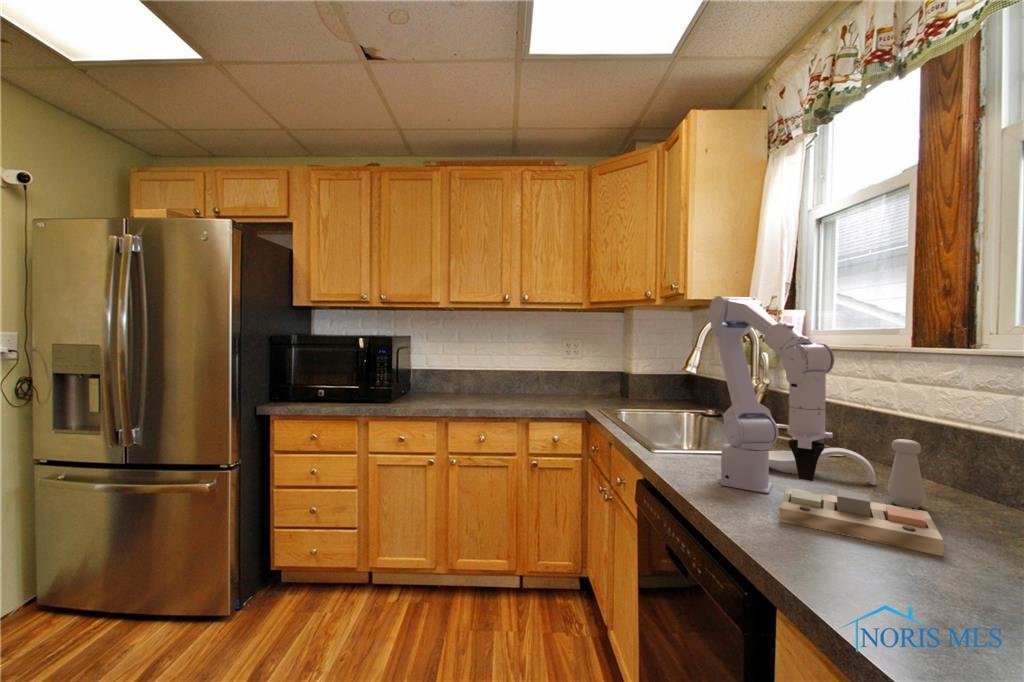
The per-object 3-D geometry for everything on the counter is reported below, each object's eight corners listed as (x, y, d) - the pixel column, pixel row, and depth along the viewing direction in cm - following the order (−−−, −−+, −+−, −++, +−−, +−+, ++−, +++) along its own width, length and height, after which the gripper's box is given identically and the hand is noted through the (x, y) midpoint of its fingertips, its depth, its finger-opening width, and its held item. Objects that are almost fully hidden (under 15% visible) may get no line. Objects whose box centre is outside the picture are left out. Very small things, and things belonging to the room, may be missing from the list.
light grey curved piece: (756, 471, 112) (756, 443, 111) (762, 461, 121) (762, 435, 121) (877, 491, 97) (877, 458, 97) (874, 478, 107) (874, 448, 107)
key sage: (790, 512, 83) (790, 496, 83) (792, 505, 87) (792, 489, 87) (820, 518, 80) (820, 501, 80) (821, 510, 84) (821, 494, 84)
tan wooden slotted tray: (779, 521, 80) (779, 506, 80) (786, 499, 91) (786, 486, 91) (943, 556, 67) (943, 538, 67) (927, 525, 79) (927, 510, 79)
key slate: (837, 512, 79) (837, 496, 79) (836, 505, 82) (837, 489, 82) (870, 519, 76) (870, 501, 76) (868, 510, 80) (868, 494, 80)
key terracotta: (888, 531, 75) (888, 514, 75) (885, 522, 78) (885, 506, 78) (925, 539, 72) (925, 520, 72) (920, 529, 76) (921, 512, 76)
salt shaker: (933, 511, 85) (934, 444, 85) (899, 509, 86) (899, 442, 86) (912, 501, 91) (913, 437, 91) (880, 498, 92) (881, 436, 92)
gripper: (833, 415, 75) (832, 494, 75) (833, 405, 87) (832, 473, 87) (784, 410, 79) (783, 486, 79) (790, 401, 91) (790, 467, 91)
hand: (806, 479), depth 83 cm, fingers closed
